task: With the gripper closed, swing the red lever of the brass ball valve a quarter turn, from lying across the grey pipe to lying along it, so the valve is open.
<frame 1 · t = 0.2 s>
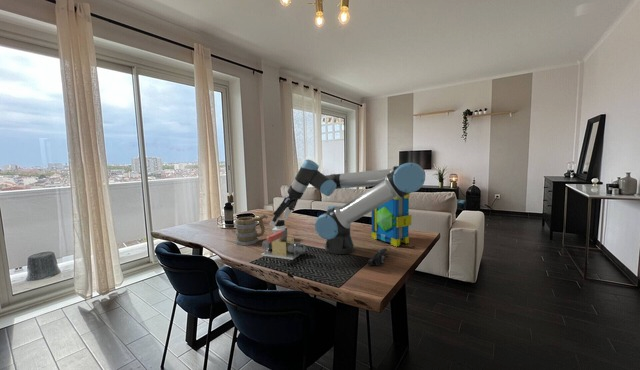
hand: (277, 222, 139), 16 cm above the table, tool tilted 35°, fingers open, 13 cm apart
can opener: (380, 261, 125), on the table
decorative book: (389, 241, 154), on the table
tankard: (252, 241, 161), on the table
lever: (276, 237, 132), point 10 cm above the table, hinge at 90.0°
medicine bottle: (280, 239, 163), on the table
valve: (283, 253, 138), on the table
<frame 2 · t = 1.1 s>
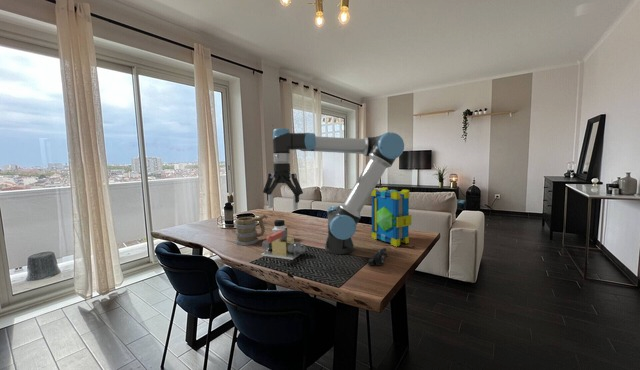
hand: (282, 208, 126), 25 cm above the table, tool pointing down, fingers open, 13 cm apart
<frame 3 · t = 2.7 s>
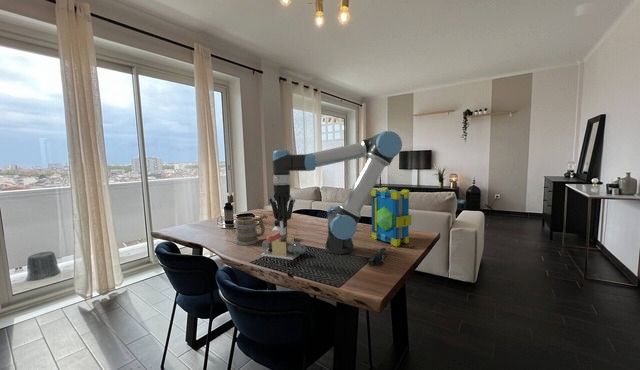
hand: (283, 234, 126), 13 cm above the table, tool pointing down, fingers closed
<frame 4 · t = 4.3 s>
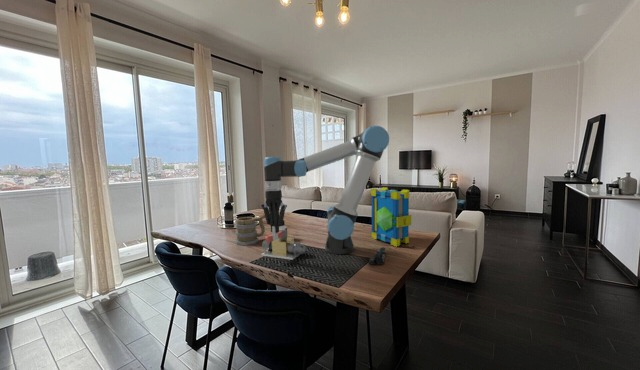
hand: (275, 239, 128), 10 cm above the table, tool pointing down, fingers closed
lever: (276, 237, 132), point 10 cm above the table, hinge at 86.6°, touching gripper
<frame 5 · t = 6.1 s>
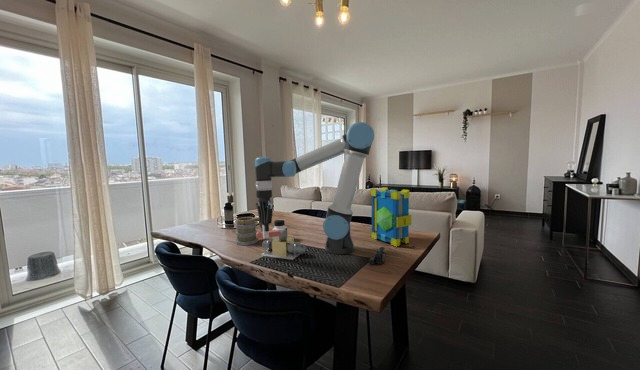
hand: (266, 237, 132), 10 cm above the table, tool pointing down, fingers closed
lever: (271, 235, 136), point 10 cm above the table, hinge at 40.7°, touching gripper
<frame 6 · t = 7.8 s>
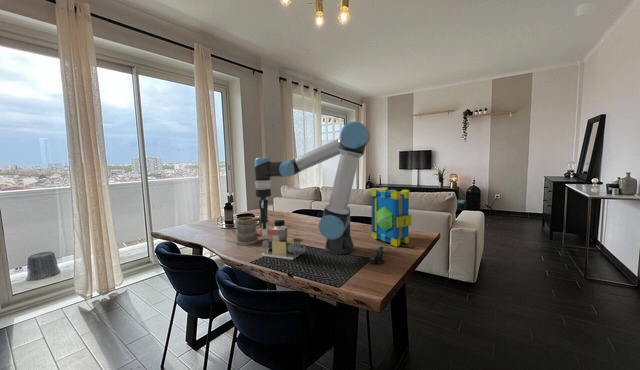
hand: (265, 234, 137), 10 cm above the table, tool pointing down, fingers closed
lever: (272, 234, 139), point 10 cm above the table, hinge at 8.6°, touching gripper
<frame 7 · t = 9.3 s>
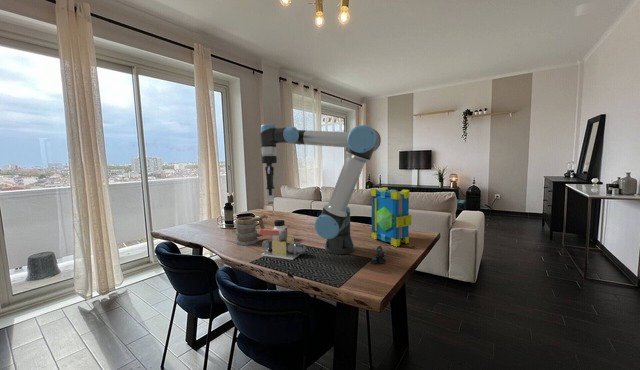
hand: (271, 201, 139), 26 cm above the table, tool pointing down, fingers closed
lever: (272, 234, 139), point 10 cm above the table, hinge at 8.5°
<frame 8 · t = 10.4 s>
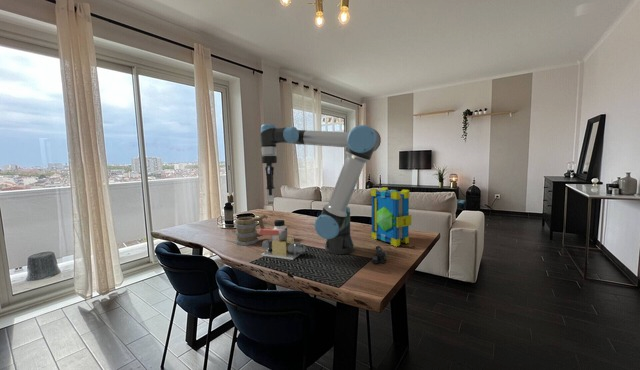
hand: (271, 201, 139), 26 cm above the table, tool pointing down, fingers closed
at the end: lever at +8° (first picture: +90°) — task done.
